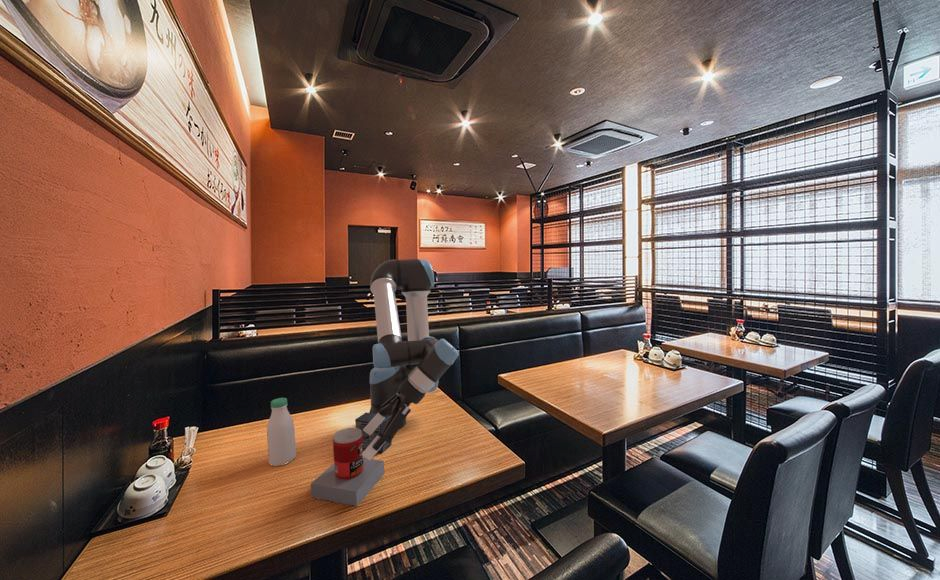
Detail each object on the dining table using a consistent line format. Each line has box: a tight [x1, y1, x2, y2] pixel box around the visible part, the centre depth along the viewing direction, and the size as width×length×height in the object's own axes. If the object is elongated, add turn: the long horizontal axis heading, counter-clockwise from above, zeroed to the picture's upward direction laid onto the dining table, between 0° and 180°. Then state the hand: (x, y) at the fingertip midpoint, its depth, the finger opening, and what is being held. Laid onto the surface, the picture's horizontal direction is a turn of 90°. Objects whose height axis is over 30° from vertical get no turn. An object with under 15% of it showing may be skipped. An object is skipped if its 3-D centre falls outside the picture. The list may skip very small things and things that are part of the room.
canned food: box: [332, 427, 364, 479], centre depth 95 cm, size 8×8×11 cm
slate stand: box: [310, 457, 385, 507], centre depth 95 cm, size 14×14×4 cm
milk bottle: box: [266, 397, 297, 466], centre depth 108 cm, size 8×8×20 cm
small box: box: [355, 412, 393, 454], centre depth 115 cm, size 11×6×10 cm, turn 71°
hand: (366, 444), depth 95 cm, fingers open, 13 cm apart
